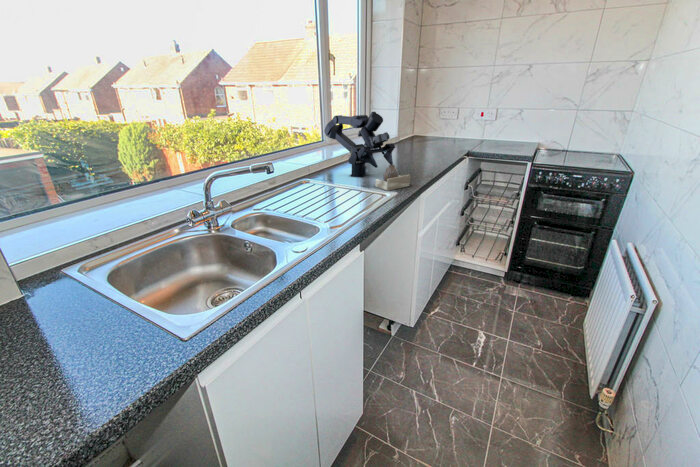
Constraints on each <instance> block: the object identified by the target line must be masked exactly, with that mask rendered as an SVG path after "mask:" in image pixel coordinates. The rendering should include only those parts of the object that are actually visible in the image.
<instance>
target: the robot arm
mask: <svg viewBox="0 0 700 467" xmlns="http://www.w3.org/2000/svg"><path fill="white" fill-rule="evenodd" d="M383 123H384V118H383V116H382V115H381V114H379V113H377V112H376V111H371V112H370V114H369V116H368V115H367V114H358V115H357V114H356V115H350V116H349V115H342V114H340V115H334V116H333V117H332V119H331V120H330V121H329V122H328V123H327V124H326V126H325V127H324V134H325V136H326V137H327V138H329V139H331V140H335V141H337V142H338V143H339V144H340V145H341V146H342V147H343V148H345V149H346V150H347V151H348V152H349V153H350V156H349V158H348V159H347V160H348V164H349V165H351V174H350V177H355V178H356V177H357V178H364V177H365V176H366V175H367V165H366V164H370V165H371V166H372V167H374V168H375V169H377V168H378V167H379V166H378V164H377V162H376V159H375V158H374V156H373V155H374V154H378V153H381V155H382V157H383V158H384V159H385V160H386V162H387V163H388V164H389V165H394V163H393V162H394V161H393V151H394V150H395V149H396V146H395V143H393V142H389V143H385V142H388V141H389V140H390V138H391V137H390V134H389V133H388V132H387V131H386V132H383V133H379V134H377V135H376V134H375V132H376V131H378V130H379V128H380V127H381V125H382V124H383ZM344 125H348V126H351V128H354V129H360V130H358V133H357V137H359V138H360V137H361V138H362V140H363V141H364V142H363V143H364V144H363V143H359V144H357V143H355V141H353V140H351V138H349V136H347V135H346V134H344V132H343V129H344ZM384 143H385V144H384Z"/></svg>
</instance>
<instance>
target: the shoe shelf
mask: <svg viewBox="0 0 700 467" xmlns="http://www.w3.org/2000/svg"><path fill="white" fill-rule="evenodd" d="M374 185H375V187H376V188H379V189H381V190H384V191H388V192H389V191H393V190H397V189H402V188H406V187H410V186H411V174H405V175H400V174H399V177H394V178H389V179H387V182H385V181H384V180H382V179H379V178H375V184H374Z"/></svg>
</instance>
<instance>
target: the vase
mask: <svg viewBox="0 0 700 467" xmlns="http://www.w3.org/2000/svg"><path fill="white" fill-rule="evenodd" d="M399 175H400V173H399V170H398V169H397V168H396V166H395V164H393V165H390V164H389V165H388V166H387V167H386V169H385V170H384V172H383V181H385V182H387V179H389V178H394V177H399Z"/></svg>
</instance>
